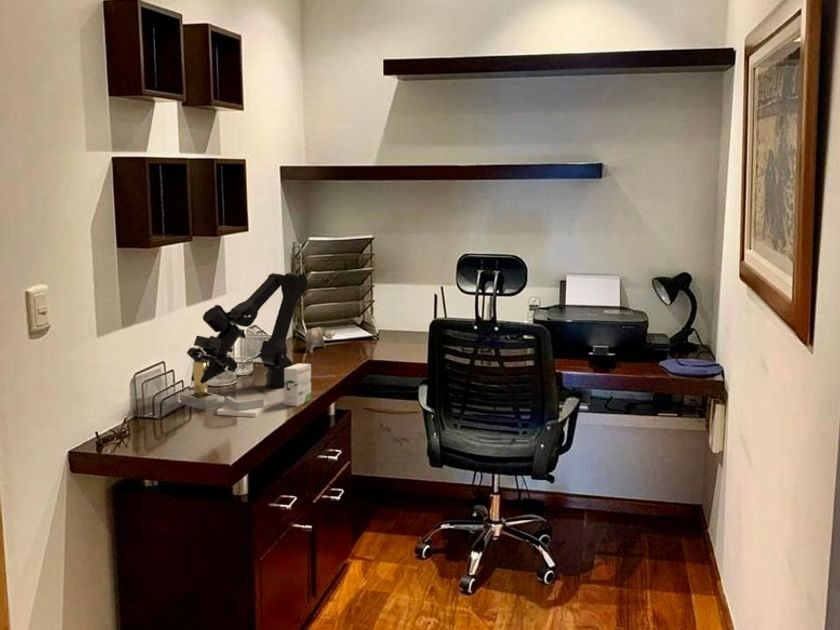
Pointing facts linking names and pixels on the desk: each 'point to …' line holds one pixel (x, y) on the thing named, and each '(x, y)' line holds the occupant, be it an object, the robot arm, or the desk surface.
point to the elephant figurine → (316, 338)
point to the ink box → (297, 384)
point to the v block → (243, 407)
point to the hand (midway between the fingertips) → (196, 381)
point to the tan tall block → (199, 371)
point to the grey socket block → (202, 400)
